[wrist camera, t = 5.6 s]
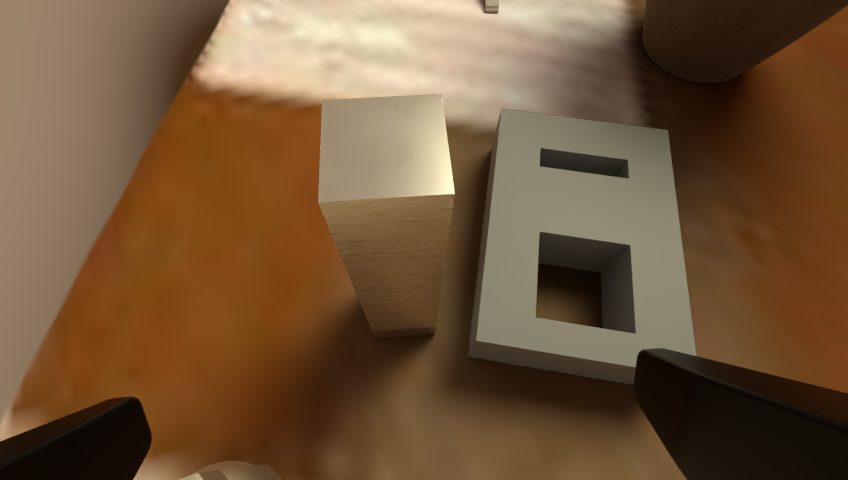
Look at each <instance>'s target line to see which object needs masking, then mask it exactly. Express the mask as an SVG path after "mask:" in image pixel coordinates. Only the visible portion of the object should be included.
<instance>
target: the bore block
mask: <svg viewBox="0 0 848 480" xmlns="http://www.w3.org/2000/svg"><path fill="white" fill-rule="evenodd" d="M538 264H545V265H551V266H558V267H564V268H571V269H577V270H584V271H590V272H597V273H601V301H602V328H597V327H591V326H585V325H579V324H572V323H566V322H560V321H554V320H548V319H542V318H536V299H537V277H538ZM653 348H665V349H669V350H673V351H677V352H681V353H685V354H689V355H693V356H696V350H695V342H694V334H693V326H692V318H691V310H690V302H689V294H688V286H687V278H686V271H685V263H684V255H683V247H682V239H681V231H680V223H679V215H678V207H677V199H676V191H675V183H674V175H673V167H672V159H671V151H670V143H669V135H668V130H663V129H655V128H648V127H640V126H632V125H625V124H617V123H609V122H602V121H594V120H586V119H579V118H571V117H563V116H556V115H548V114H540V113H533V112H525V111H517V110H510V109H502V108H501V113H500V117H499V121H498V125H497V129H496V133H495V137H494V141H493V146H492V150H491V159H490V167H489V176H488V185H487V193H486V202H485V210H484V219H483V228H482V236H481V245H480V253H479V262H478V271H477V279H476V288H475V296H474V305H473V314H472V322H471V331H470V339H469V348H468V357H472V358H478V359H484V360H489V361H495V362H501V363H507V364H513V365H519V366H525V367H531V368H537V369H542V370H548V371H554V372H560V373H566V374H572V375H578V376H584V377H589V378H595V379H601V380H607V381H613V382H619V383H625V384H631V385H633V384H634V376H635V368H636V360H637V355H638V353H639V352H640V351H641V350H643V349H653Z"/></svg>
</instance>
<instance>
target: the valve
mask: <svg viewBox="0 0 848 480" xmlns="http://www.w3.org/2000/svg"><path fill="white" fill-rule="evenodd" d="M180 480H282V479H281V478H280V477H279V475H278V474H277V473H276V472H275V471H274V470H273V469H272V468H271V467H270V466H269V465H268V464H261V465H252V464H250V463H246V462H242V461H225V462H219V463H215V464H212V465H209V466H206V467H204V468H202V469H200V470H198V471H196V472H194V473H193V474H191V475H190V476H188V477H185V478H182V479H180Z"/></svg>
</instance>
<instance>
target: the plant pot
mask: <svg viewBox="0 0 848 480" xmlns="http://www.w3.org/2000/svg"><path fill="white" fill-rule="evenodd" d="M847 5H848V0H646V6H645V15H644V25H643V37H642V40H643V45H644V48H645V51H646V52H647V54H648V56H649V57H650V58H651V59H652V61H654V62H655V63H656V64H657V65H658V66H659V67H661V68H662V69H663V70H665V71H666V72H668V73H670V74H672V75H674V76H676V77H679V78H681V79H685V80H688V81H693V82H698V83H718V82H724V81H728V80H730V79H732V78H734V77H736V76H738V75H740V74H742V73H743V72H745V71H747V70H749V69H750V68H752V67H754V66H755V65H757V64H759V63H761V62H762V61H764V60H766V59H767V58H769V57H770V56H772V55H774V54H775V53H777V52H779V51H780V50H782V49H783V48H785V47H786V46H788V45H790V44H791V43H793V42H794V41H796V40H797V39H799V38H800V37H802V36H803V35H805V34H807V33H808V32H809V31H811V30H812V29H814V28H815V27H817V26H818V25H820V24H821V23H823V22H824V21H826V20H827V19H829V18H830V17H832V16H833V15H835V14H836V13H837V12H839V11H840V10H842V9H843V8H845V7H846V6H847Z"/></svg>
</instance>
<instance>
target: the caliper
mask: <svg viewBox="0 0 848 480" xmlns="http://www.w3.org/2000/svg"><path fill="white" fill-rule="evenodd" d="M498 8H499V0H485V12H498Z"/></svg>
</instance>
